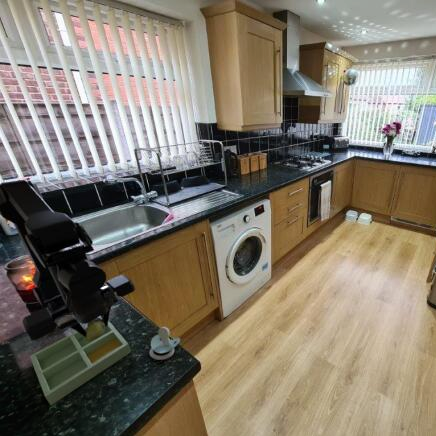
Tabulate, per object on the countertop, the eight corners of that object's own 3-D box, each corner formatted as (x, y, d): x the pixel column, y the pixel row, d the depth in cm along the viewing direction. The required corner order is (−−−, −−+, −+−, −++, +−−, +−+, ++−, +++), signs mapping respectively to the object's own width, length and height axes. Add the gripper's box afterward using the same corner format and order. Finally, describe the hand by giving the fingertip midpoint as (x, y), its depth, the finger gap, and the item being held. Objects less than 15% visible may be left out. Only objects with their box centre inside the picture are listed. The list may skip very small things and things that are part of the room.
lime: (91, 347, 55) (82, 332, 53) (82, 338, 57) (72, 323, 55) (112, 332, 59) (104, 317, 56) (102, 324, 61) (94, 310, 59)
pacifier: (168, 364, 59) (184, 343, 64) (162, 346, 56) (179, 325, 61) (143, 357, 60) (161, 337, 66) (136, 339, 58) (155, 320, 63)
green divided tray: (34, 364, 59) (29, 356, 58) (108, 324, 70) (104, 316, 69) (50, 405, 50) (45, 396, 49) (131, 352, 62) (128, 343, 60)
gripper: (17, 321, 41) (53, 383, 47) (136, 269, 54) (152, 321, 60) (7, 294, 47) (40, 352, 53) (116, 253, 60) (133, 303, 67)
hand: (96, 330), depth 58 cm, fingers closed on lime, 3 cm apart
